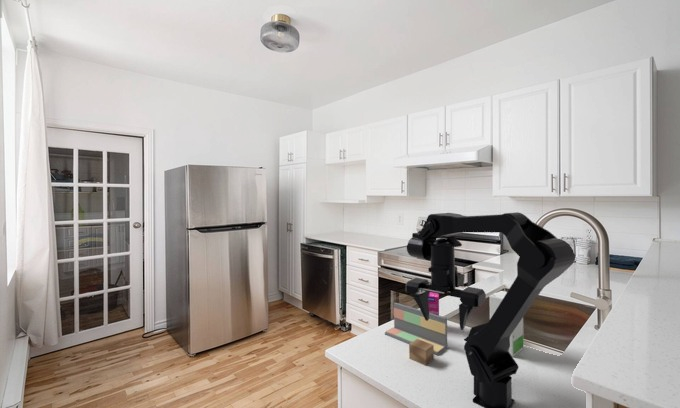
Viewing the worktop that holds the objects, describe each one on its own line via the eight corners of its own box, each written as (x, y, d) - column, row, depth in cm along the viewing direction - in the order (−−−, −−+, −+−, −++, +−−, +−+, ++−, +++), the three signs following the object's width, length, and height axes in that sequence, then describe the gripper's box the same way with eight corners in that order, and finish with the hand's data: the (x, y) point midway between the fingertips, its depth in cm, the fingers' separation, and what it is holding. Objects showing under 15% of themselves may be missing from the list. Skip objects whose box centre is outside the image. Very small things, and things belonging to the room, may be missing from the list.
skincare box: (512, 358, 83) (512, 301, 83) (487, 349, 88) (487, 295, 88) (524, 348, 89) (524, 294, 88) (500, 339, 94) (500, 289, 93)
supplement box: (420, 329, 102) (420, 295, 101) (421, 322, 107) (421, 289, 107) (439, 331, 100) (439, 296, 100) (439, 324, 106) (438, 290, 105)
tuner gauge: (447, 348, 89) (447, 317, 89) (436, 356, 85) (436, 324, 85) (396, 329, 102) (395, 302, 102) (384, 335, 98) (384, 307, 98)
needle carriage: (437, 357, 84) (436, 342, 84) (425, 365, 80) (425, 350, 80) (420, 350, 88) (420, 336, 88) (409, 358, 84) (409, 343, 84)
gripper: (492, 262, 77) (494, 324, 77) (424, 254, 90) (425, 307, 90) (476, 270, 69) (478, 340, 69) (403, 260, 82) (405, 319, 82)
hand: (444, 324), depth 78 cm, fingers open, 9 cm apart
